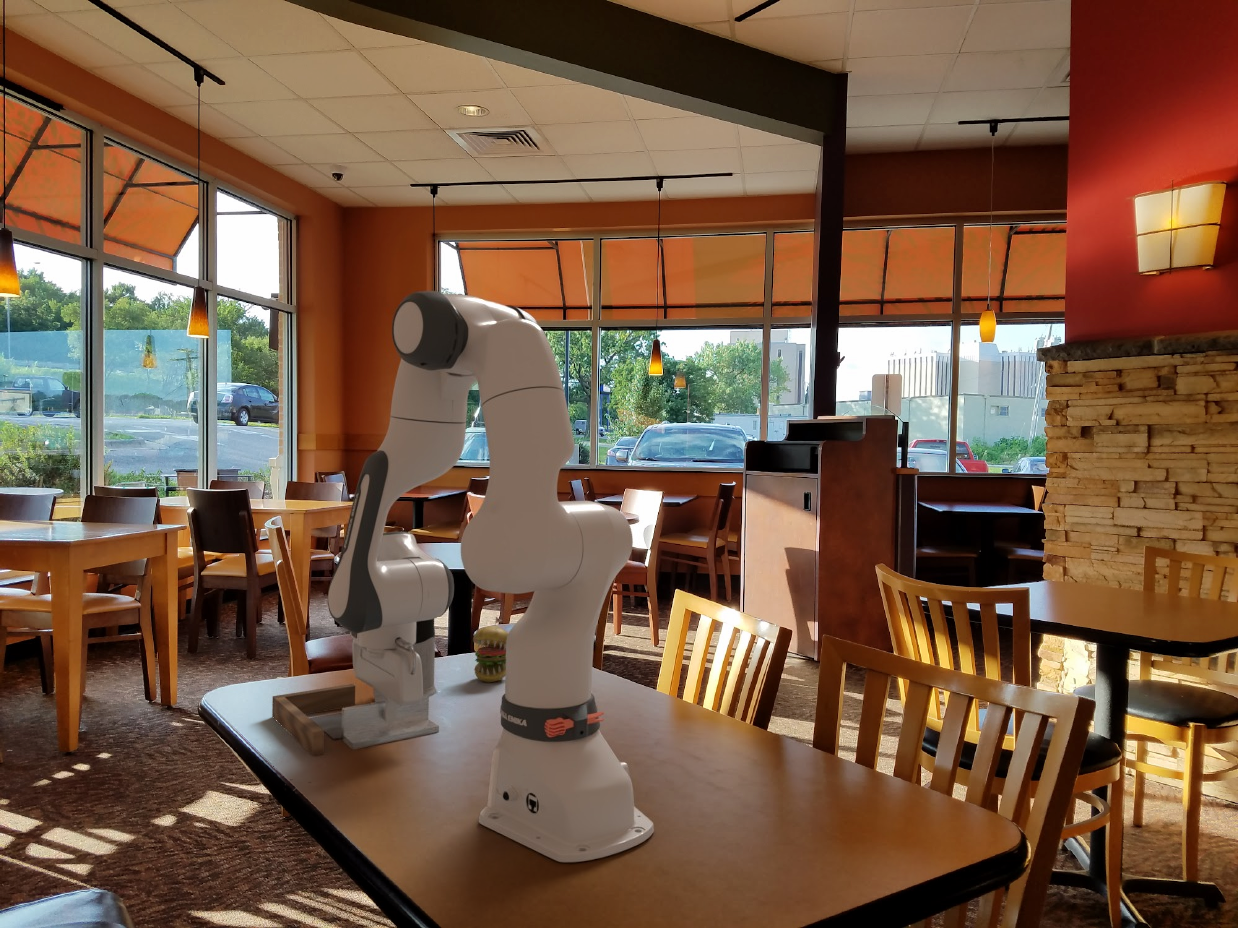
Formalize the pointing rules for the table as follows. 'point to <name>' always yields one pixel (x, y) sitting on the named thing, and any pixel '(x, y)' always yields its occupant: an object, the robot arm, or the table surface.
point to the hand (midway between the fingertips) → (386, 718)
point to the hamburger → (491, 653)
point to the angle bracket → (385, 723)
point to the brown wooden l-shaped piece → (311, 730)
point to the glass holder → (426, 653)
